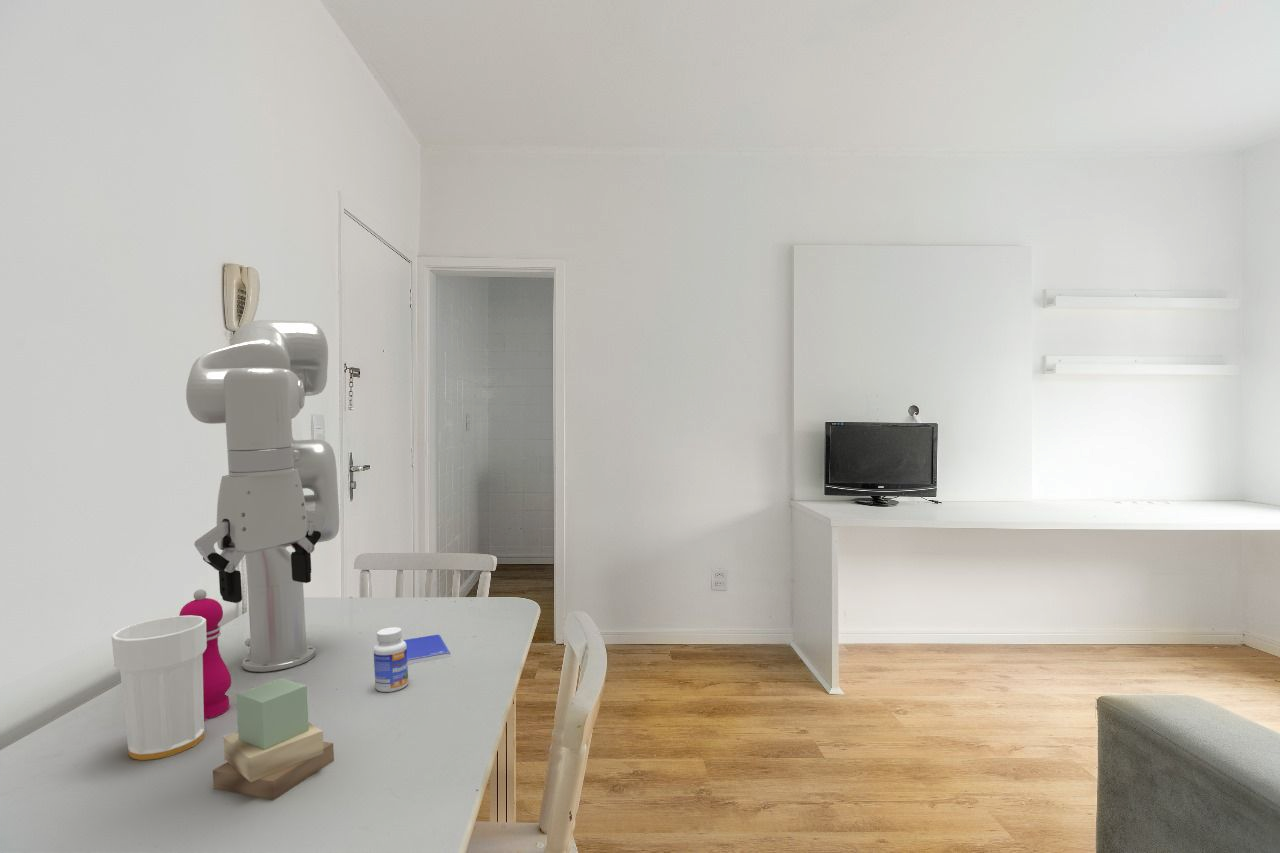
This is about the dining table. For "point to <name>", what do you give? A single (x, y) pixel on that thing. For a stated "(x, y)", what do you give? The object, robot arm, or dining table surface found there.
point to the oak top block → (272, 753)
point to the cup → (162, 684)
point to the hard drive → (426, 649)
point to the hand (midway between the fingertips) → (268, 590)
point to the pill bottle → (390, 660)
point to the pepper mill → (211, 655)
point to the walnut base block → (271, 777)
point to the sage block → (272, 713)
